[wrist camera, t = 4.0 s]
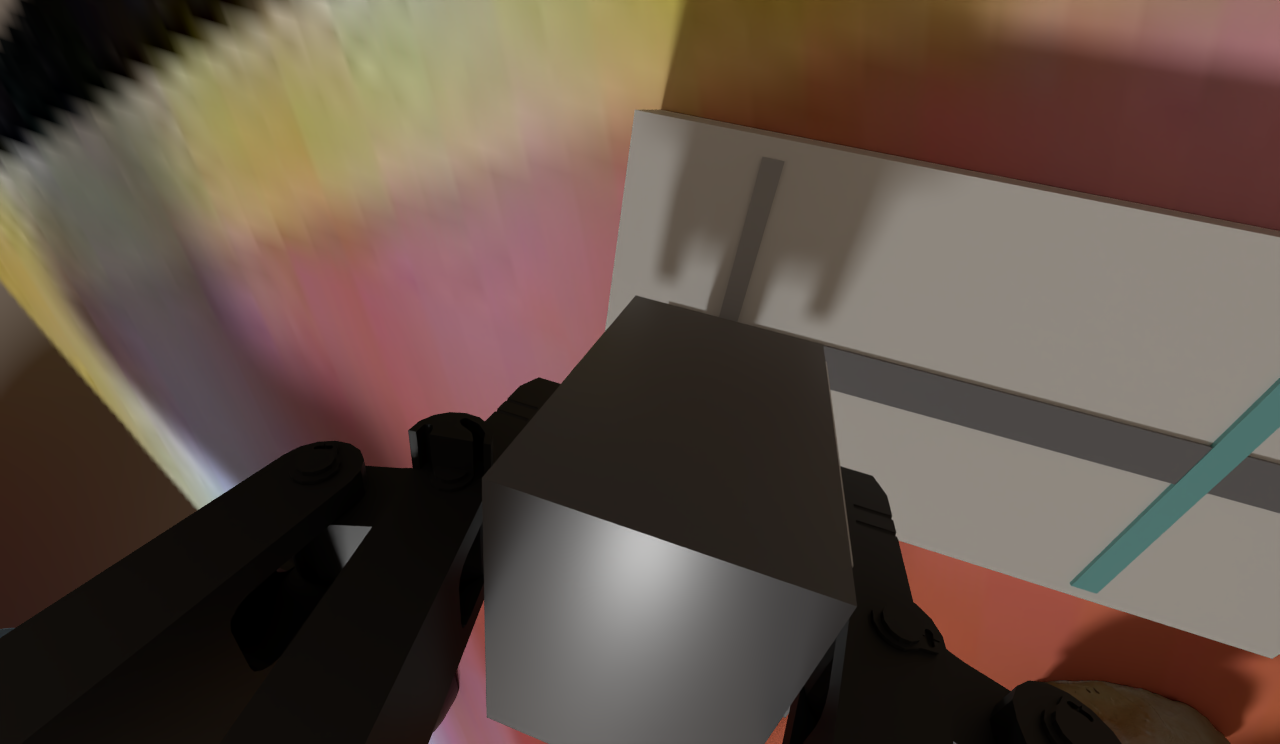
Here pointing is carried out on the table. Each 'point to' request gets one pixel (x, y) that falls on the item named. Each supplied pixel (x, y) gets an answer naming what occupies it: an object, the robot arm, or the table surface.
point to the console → (1000, 356)
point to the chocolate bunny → (1143, 714)
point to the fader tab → (667, 538)
